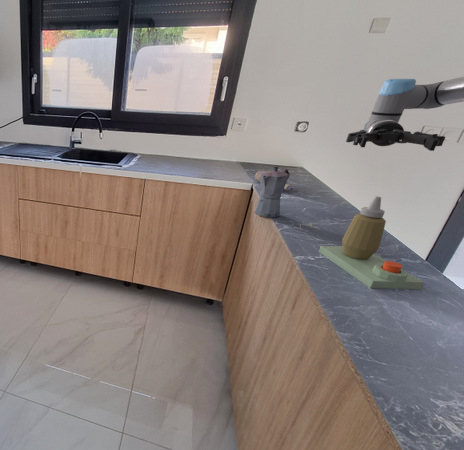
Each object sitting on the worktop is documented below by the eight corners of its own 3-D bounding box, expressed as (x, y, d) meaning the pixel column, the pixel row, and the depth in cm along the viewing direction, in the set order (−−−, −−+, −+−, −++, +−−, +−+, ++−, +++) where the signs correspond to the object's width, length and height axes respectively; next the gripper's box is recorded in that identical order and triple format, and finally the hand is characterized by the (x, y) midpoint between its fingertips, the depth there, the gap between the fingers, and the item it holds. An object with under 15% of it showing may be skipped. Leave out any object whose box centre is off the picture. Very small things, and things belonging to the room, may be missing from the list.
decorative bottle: (252, 181, 175) (255, 170, 173) (266, 181, 175) (269, 169, 172) (281, 195, 151) (284, 182, 149) (297, 195, 151) (300, 181, 149)
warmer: (359, 252, 97) (363, 241, 96) (421, 289, 79) (428, 276, 77) (318, 252, 98) (322, 240, 97) (370, 288, 80) (376, 275, 78)
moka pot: (244, 213, 130) (254, 166, 122) (266, 207, 136) (277, 162, 129) (266, 221, 122) (279, 171, 114) (289, 214, 129) (302, 166, 121)
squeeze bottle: (372, 264, 86) (398, 203, 79) (335, 255, 92) (356, 197, 85) (375, 255, 91) (400, 196, 84) (340, 246, 97) (360, 191, 90)
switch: (391, 267, 82) (394, 261, 81) (402, 274, 79) (406, 267, 78) (378, 267, 82) (381, 260, 82) (389, 273, 79) (392, 266, 79)
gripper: (436, 146, 95) (459, 161, 80) (331, 142, 109) (334, 154, 93) (447, 121, 92) (474, 131, 77) (338, 120, 106) (342, 128, 90)
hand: (397, 144), depth 85 cm, fingers open, 13 cm apart
